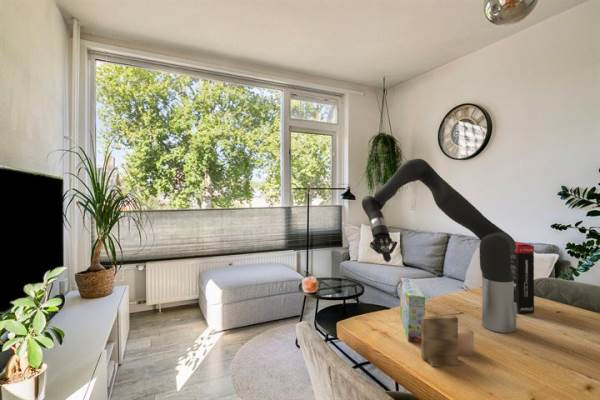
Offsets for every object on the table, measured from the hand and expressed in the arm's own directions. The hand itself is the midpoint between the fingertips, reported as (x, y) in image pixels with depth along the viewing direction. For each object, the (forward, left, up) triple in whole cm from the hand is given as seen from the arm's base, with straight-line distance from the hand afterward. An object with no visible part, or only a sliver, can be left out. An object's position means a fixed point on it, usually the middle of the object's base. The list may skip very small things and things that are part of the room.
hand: (388, 260), depth 129 cm
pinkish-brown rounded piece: (-9, +40, -18) cm, 45 cm away
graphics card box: (-49, +8, -19) cm, 53 cm away
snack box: (0, +24, -19) cm, 30 cm away
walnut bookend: (0, +45, -18) cm, 49 cm away
